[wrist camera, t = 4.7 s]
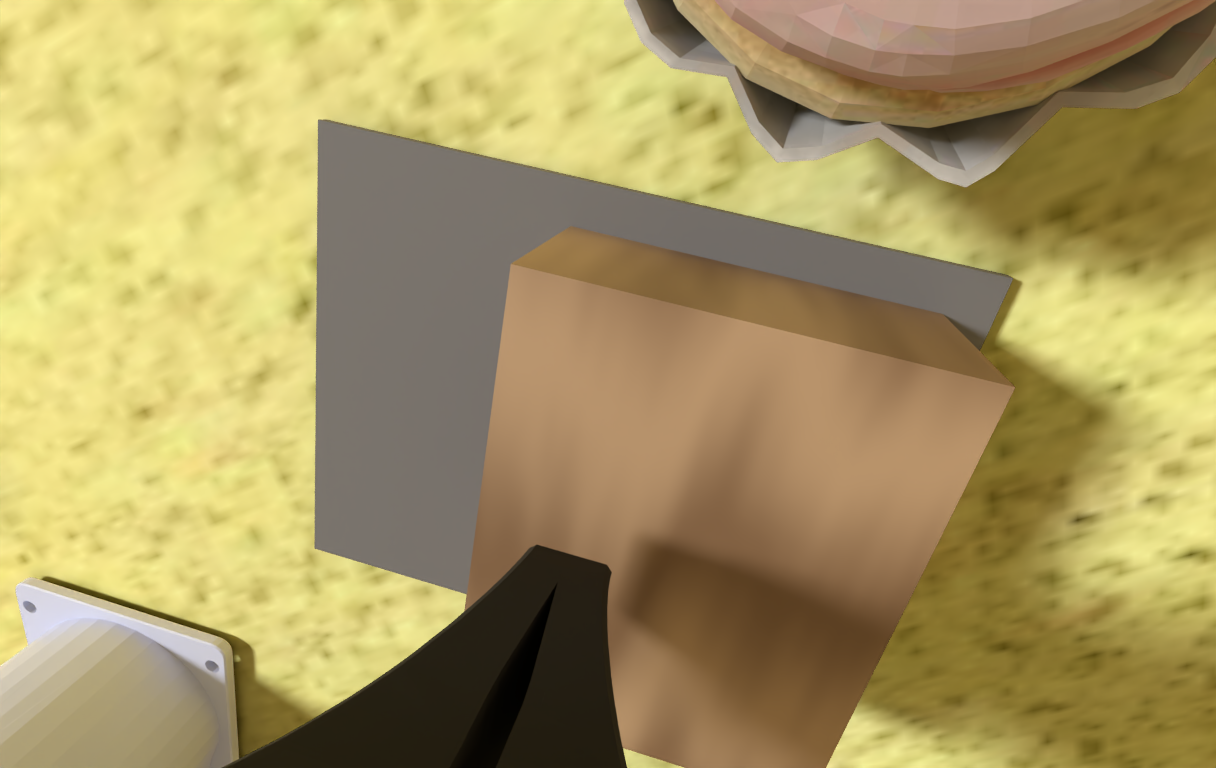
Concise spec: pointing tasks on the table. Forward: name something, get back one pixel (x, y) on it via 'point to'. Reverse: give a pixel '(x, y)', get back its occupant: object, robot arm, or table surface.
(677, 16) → the cupcake
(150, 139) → the table surface
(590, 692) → the robot arm
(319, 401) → the mat
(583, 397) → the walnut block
